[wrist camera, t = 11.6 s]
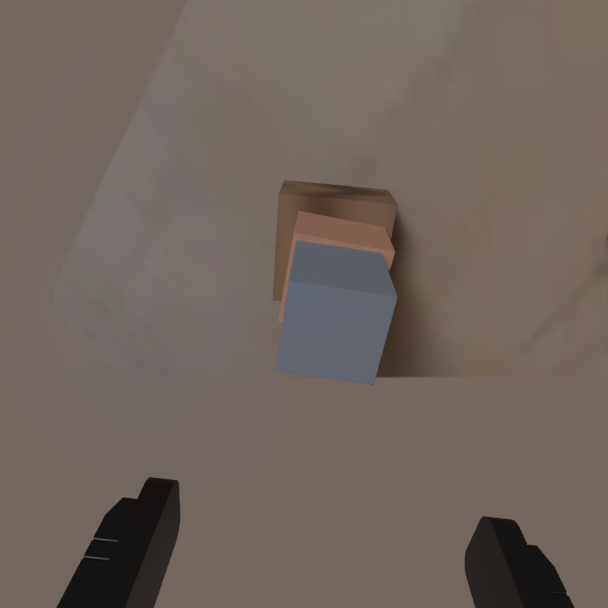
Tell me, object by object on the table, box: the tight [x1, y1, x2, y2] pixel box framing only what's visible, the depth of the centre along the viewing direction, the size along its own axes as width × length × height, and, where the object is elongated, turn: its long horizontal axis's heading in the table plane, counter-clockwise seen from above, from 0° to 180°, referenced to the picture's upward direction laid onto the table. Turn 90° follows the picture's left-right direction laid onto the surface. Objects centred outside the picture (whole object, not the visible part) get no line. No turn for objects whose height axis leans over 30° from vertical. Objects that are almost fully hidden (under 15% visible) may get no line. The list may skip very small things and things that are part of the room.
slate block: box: [276, 240, 397, 385], centre depth 23 cm, size 5×5×6 cm
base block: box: [273, 180, 397, 301], centre depth 32 cm, size 8×8×5 cm
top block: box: [278, 211, 395, 323], centre depth 28 cm, size 6×6×5 cm
